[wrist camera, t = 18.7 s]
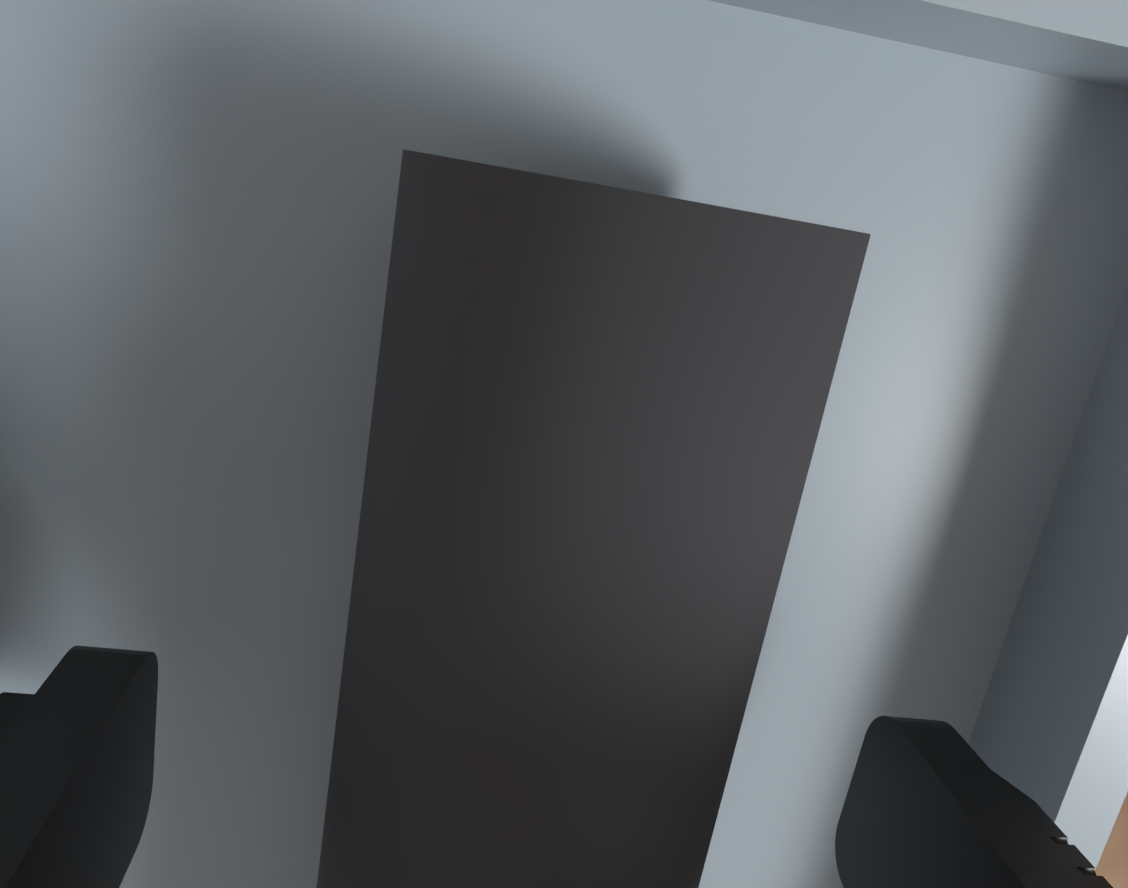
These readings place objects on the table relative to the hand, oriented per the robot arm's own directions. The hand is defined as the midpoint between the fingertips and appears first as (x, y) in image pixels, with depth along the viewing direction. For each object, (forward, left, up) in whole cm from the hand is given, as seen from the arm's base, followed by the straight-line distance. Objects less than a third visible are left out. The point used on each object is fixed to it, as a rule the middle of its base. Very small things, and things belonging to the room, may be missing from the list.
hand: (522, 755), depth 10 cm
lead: (+2, 0, -2) cm, 3 cm away
